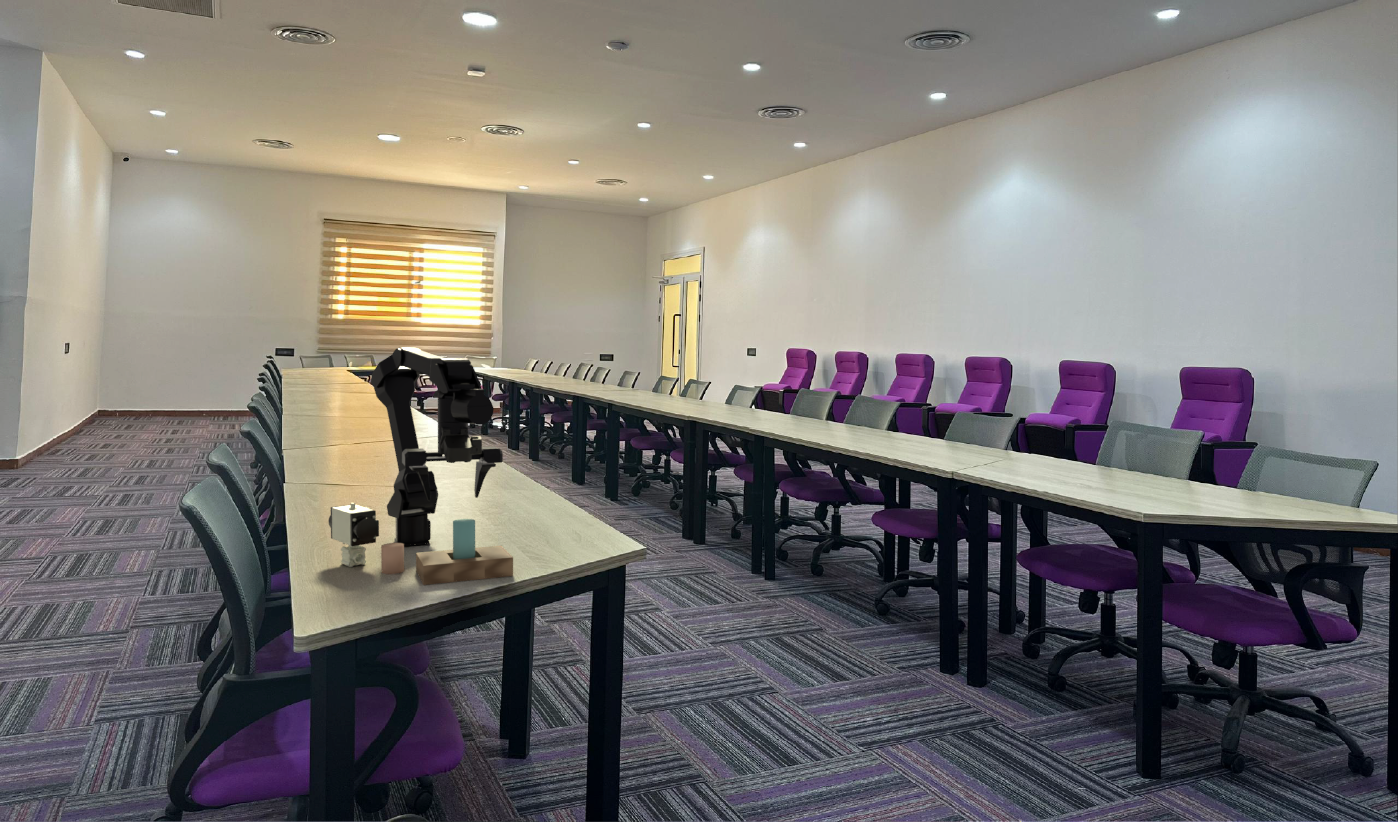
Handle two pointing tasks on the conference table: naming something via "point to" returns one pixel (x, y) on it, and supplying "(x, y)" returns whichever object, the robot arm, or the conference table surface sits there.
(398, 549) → the short pin
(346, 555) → the pneumatic valve
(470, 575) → the bore board
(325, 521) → the conference table surface
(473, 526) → the tall pin
